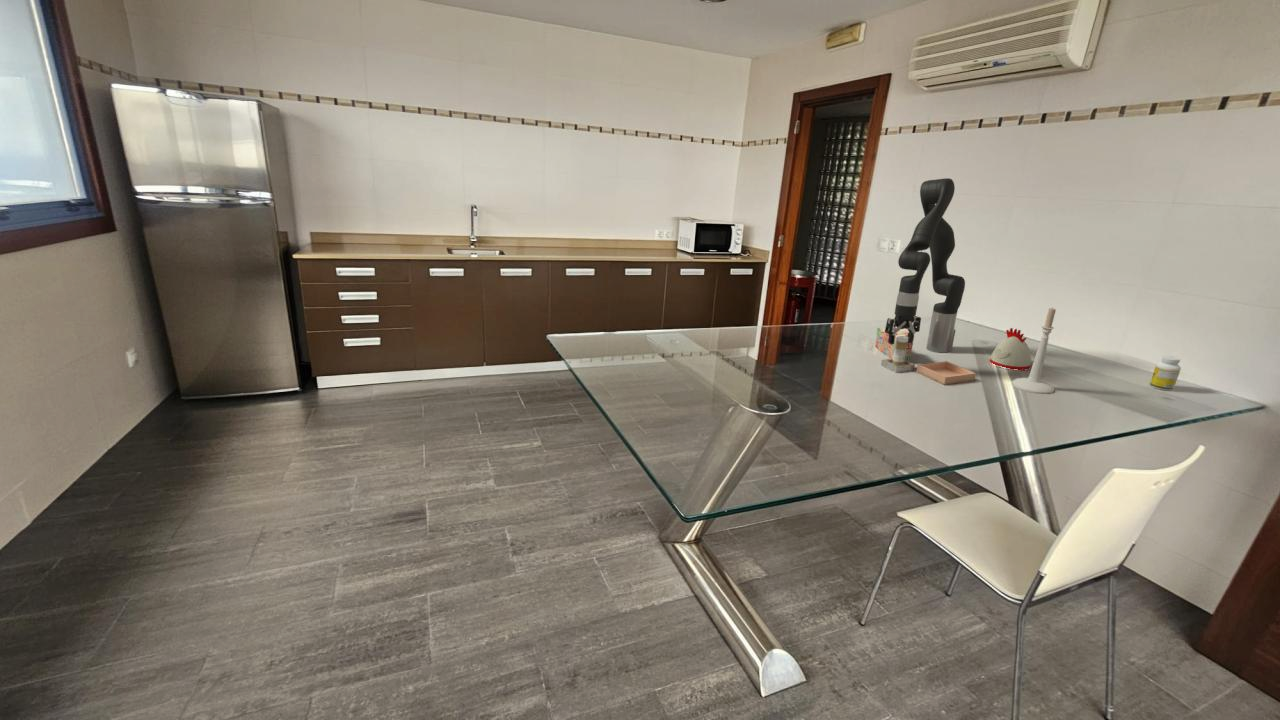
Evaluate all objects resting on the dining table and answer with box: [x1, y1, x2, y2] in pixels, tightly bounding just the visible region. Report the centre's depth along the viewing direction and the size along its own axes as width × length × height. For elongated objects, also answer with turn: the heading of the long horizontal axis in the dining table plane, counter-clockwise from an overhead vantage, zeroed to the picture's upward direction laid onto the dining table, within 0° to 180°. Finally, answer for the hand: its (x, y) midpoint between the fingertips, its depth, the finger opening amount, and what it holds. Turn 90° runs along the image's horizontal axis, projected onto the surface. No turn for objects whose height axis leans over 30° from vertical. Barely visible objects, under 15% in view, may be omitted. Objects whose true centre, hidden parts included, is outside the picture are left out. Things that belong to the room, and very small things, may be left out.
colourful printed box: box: [874, 326, 915, 363], centre depth 230 cm, size 21×6×12 cm, turn 179°
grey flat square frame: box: [880, 358, 916, 374], centre depth 216 cm, size 9×9×2 cm
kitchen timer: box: [989, 327, 1032, 371], centre depth 216 cm, size 14×14×15 cm
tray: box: [916, 360, 977, 386], centre depth 207 cm, size 14×14×3 cm
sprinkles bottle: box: [892, 335, 908, 366], centre depth 214 cm, size 5×5×14 cm
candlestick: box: [1011, 307, 1057, 395], centre depth 191 cm, size 13×13×30 cm
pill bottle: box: [1149, 355, 1182, 391], centre depth 192 cm, size 6×6×12 cm
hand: (900, 343), depth 213 cm, fingers open, 8 cm apart
